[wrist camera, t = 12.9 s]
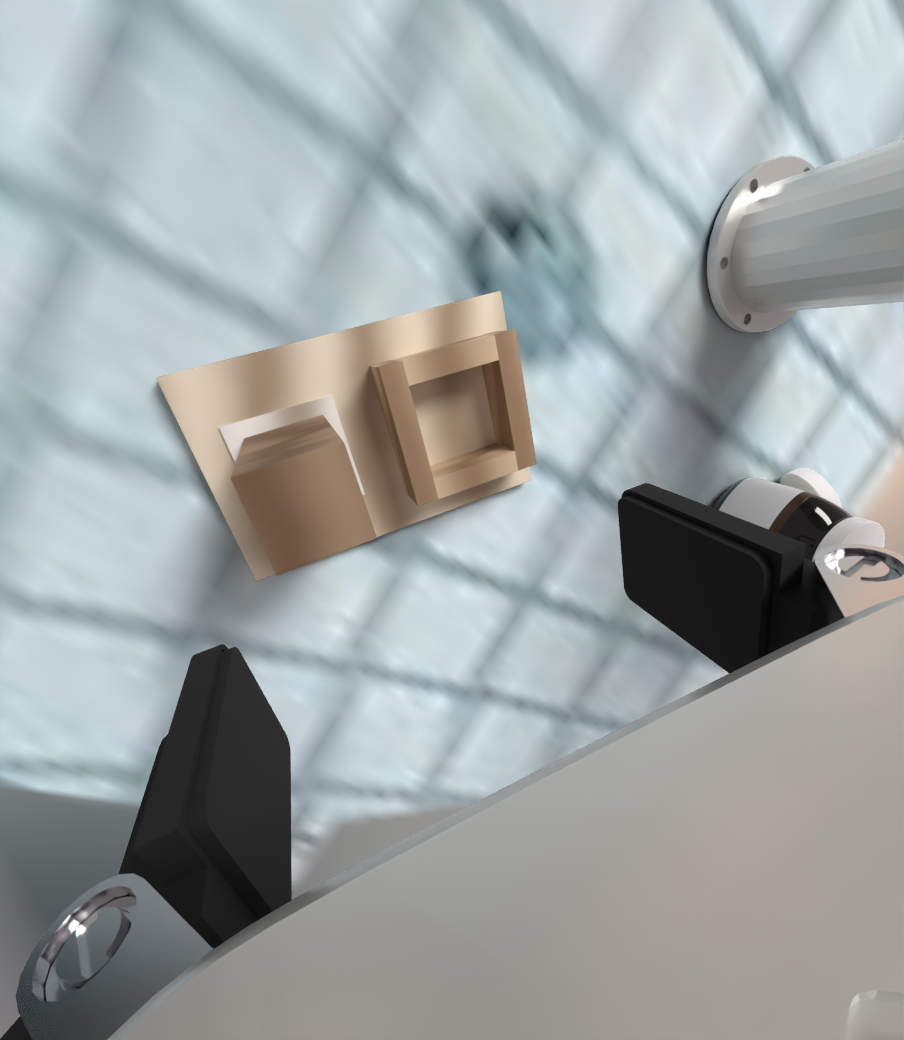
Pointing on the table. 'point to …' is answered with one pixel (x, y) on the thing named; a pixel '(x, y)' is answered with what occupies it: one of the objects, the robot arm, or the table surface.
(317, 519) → the walnut block
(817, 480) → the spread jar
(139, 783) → the table surface
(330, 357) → the pocket board
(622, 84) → the table surface
